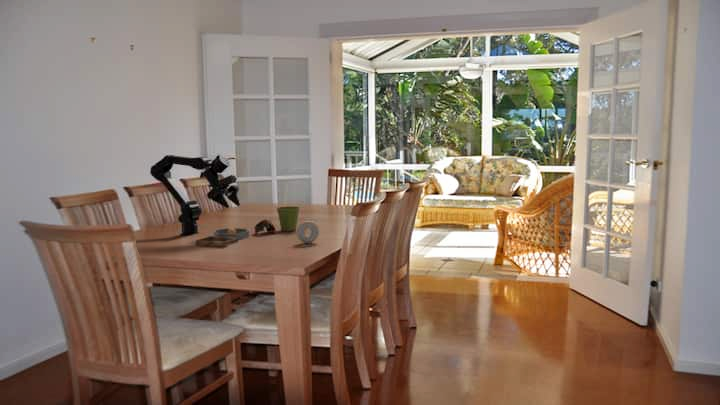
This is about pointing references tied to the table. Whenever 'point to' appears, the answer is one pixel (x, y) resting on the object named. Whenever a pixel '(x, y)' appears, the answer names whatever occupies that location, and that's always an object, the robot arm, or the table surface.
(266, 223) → the broken clay ring
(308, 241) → the donut
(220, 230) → the bowl
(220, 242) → the tray
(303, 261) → the table surface
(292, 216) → the plant pot
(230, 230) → the ball
